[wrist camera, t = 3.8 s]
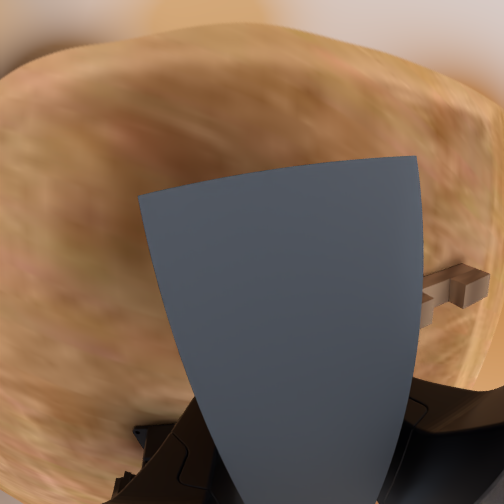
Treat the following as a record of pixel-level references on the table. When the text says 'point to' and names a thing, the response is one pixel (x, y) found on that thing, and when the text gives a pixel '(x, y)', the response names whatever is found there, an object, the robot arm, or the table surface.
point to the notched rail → (452, 289)
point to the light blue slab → (296, 319)
